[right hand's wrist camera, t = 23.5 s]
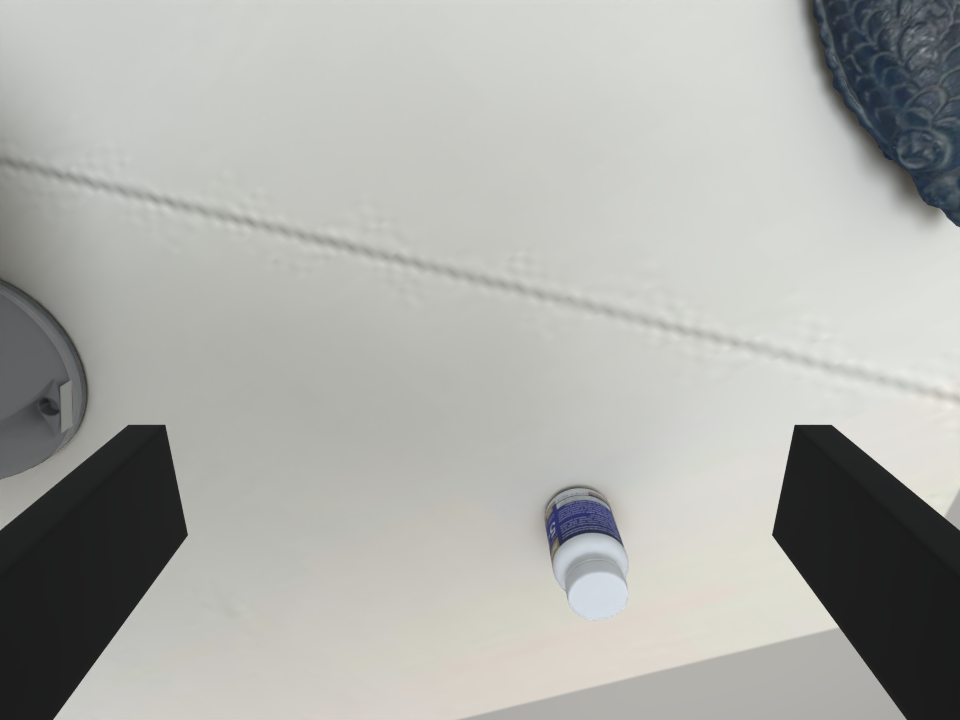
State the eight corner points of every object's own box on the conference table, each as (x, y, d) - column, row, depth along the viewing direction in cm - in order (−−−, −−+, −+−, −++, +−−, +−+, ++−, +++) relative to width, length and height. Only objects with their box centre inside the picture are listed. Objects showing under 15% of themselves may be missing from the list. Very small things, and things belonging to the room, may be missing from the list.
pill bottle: (535, 497, 47) (547, 576, 38) (600, 477, 46) (627, 553, 38) (555, 550, 48) (571, 637, 40) (618, 532, 48) (647, 616, 39)
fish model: (891, 246, 40) (947, 260, 35) (756, -66, 34) (802, -101, 29) (991, 188, 38) (1063, 194, 34) (870, -147, 32) (937, -197, 28)
